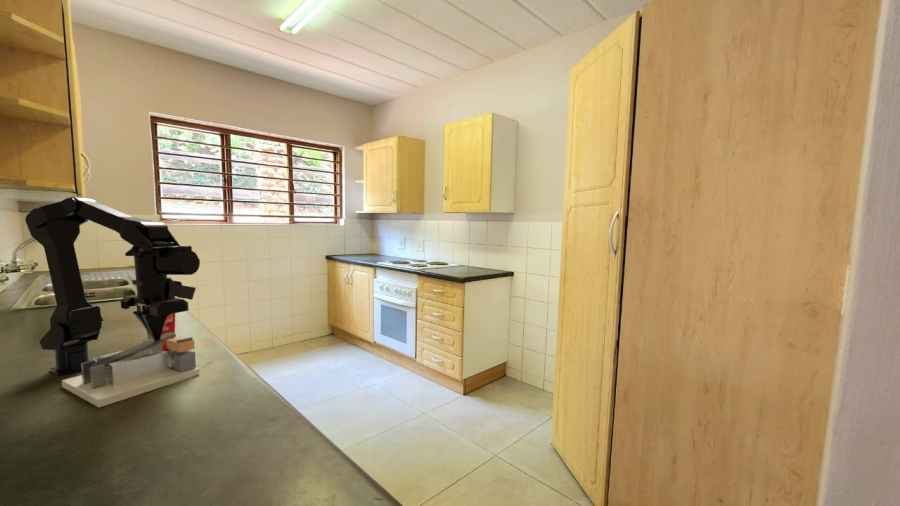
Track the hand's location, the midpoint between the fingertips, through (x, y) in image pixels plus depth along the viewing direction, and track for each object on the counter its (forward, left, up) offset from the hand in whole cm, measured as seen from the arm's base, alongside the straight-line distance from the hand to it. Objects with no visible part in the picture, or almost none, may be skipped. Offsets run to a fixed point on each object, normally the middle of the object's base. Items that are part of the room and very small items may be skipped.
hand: (156, 339), depth 86 cm
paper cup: (-19, +9, -9) cm, 23 cm away
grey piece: (0, -4, -7) cm, 8 cm away
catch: (+6, +2, -2) cm, 7 cm away
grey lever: (0, -4, -2) cm, 4 cm away
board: (0, -5, -8) cm, 10 cm away
